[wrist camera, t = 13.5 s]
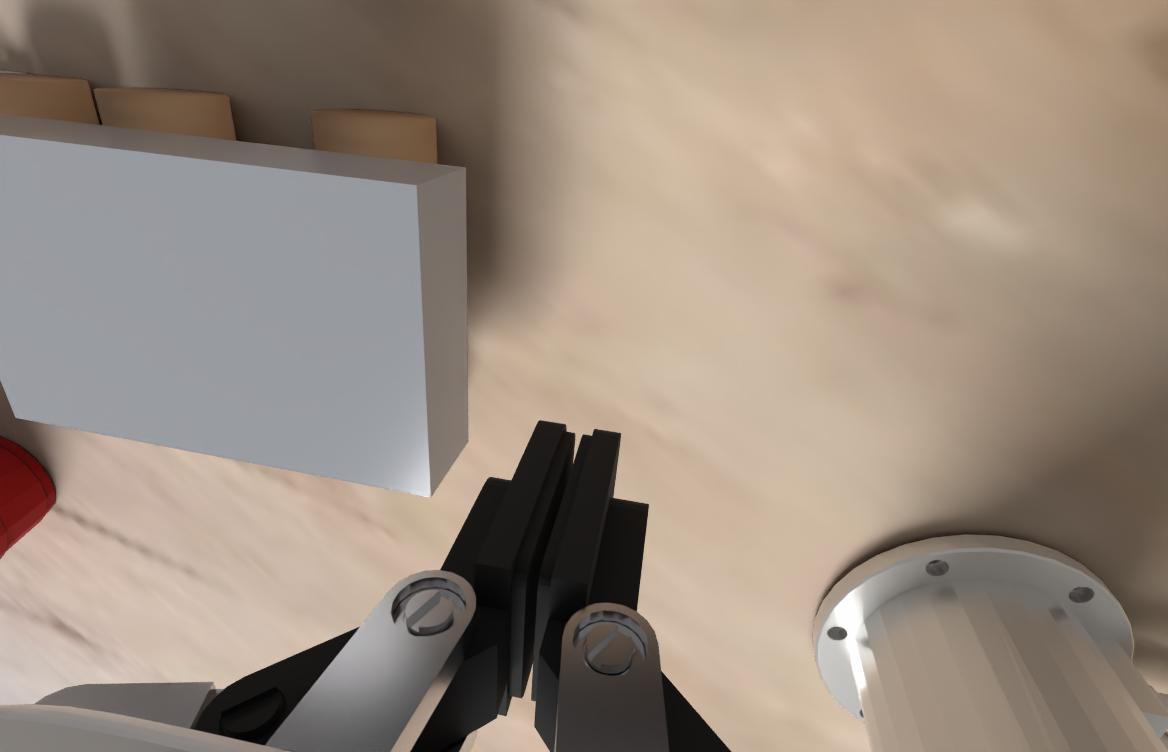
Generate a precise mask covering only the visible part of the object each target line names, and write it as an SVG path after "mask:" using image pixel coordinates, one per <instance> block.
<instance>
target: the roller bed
mask: <svg viewBox="0 0 1168 752" xmlns="http://www.w3.org/2000/svg"><path fill="white" fill-rule="evenodd" d="M94 94H95V98H96V102H97V106H98V109H99V113H100V117H101V121H102V125H104V126H113V127H122V128H130V129H139V130H147V131H156V132H165V133H173V134H182V135H191V136H199V137H208V138H217V139H225V140H234V141H236V135H235V129H234V124H233V118H232V112H231V106H230V100H229V96H228V95H225V94H220V93H213V92H204V91H193V90H179V89H161V88H98V89H94ZM310 113H311V122H312V130H313V139H314V147H315V150H320V151H329V152H338V153H346V154H355V155H364V156H372V157H381V158H390V159H398V160H407V161H416V162H424V163H433V164H437V139H436V119H435V118H433V117H430V116H425V115H420V114H413V113H405V112H395V111H382V110H366V109H319V110H312V111H310ZM16 115H18V116H26V117H35V118H44V119H52V120H61V121H70V122H78V123H87V124H96V125H99V121H98V117H97V114H96V110H95V106H94V102H93V99H92V95H91V91H90V87H89V84H88V80H85V79H79V78H70V77H60V76H47V75H31V74H10V73H0V116H16Z"/></svg>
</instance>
